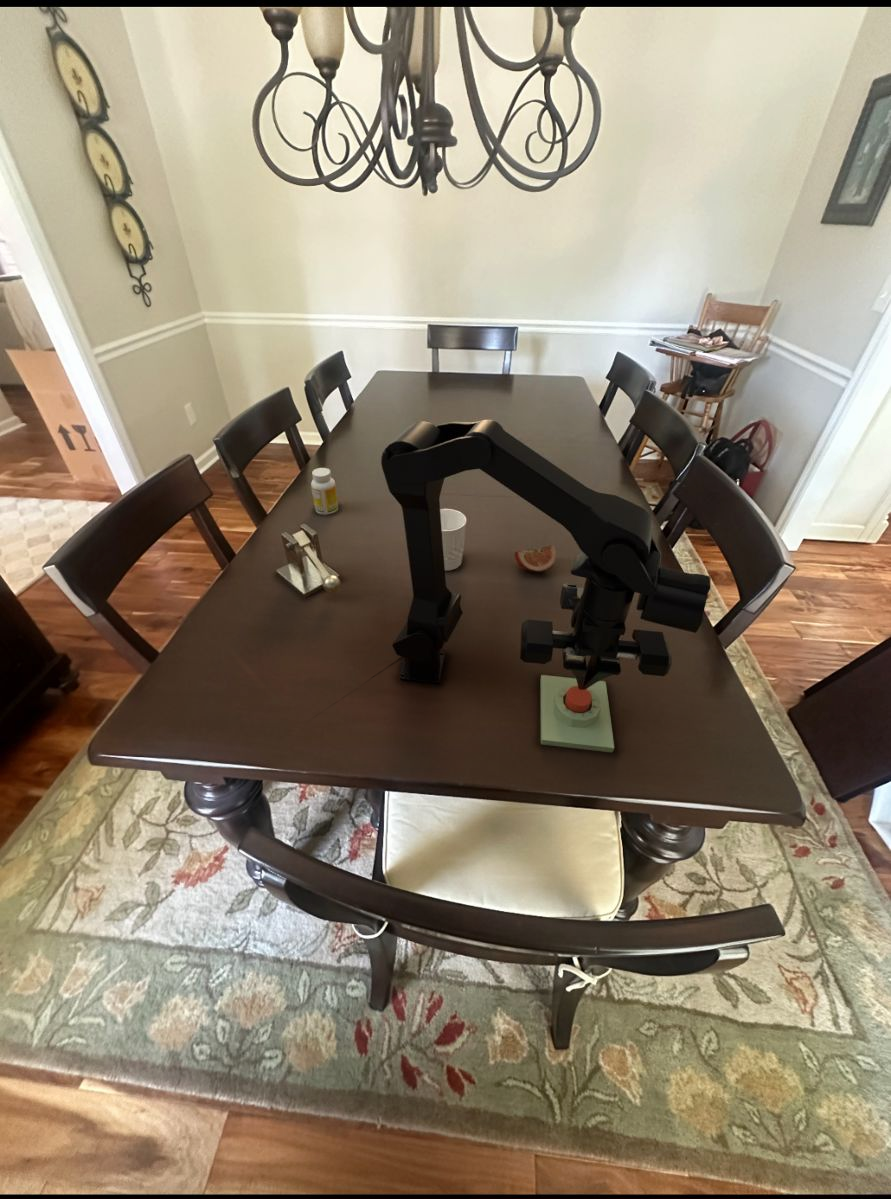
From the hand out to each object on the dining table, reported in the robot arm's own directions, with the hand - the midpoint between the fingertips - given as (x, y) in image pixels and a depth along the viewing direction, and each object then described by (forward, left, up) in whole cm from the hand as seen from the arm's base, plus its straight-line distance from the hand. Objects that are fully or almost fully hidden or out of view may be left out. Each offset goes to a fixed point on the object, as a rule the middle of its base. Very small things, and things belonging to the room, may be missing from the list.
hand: (581, 687), depth 73 cm
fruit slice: (+35, +6, -6) cm, 36 cm away
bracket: (+26, +50, -6) cm, 57 cm away
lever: (+24, +47, -2) cm, 53 cm away
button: (0, 0, -4) cm, 4 cm away
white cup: (+35, +24, -6) cm, 43 cm away
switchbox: (0, 0, -6) cm, 6 cm away
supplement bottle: (+51, +54, -6) cm, 74 cm away
